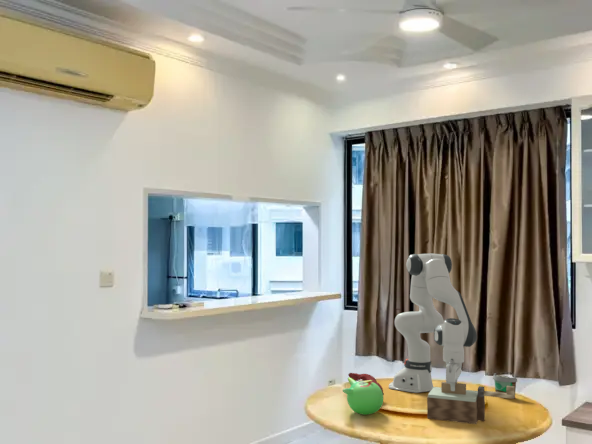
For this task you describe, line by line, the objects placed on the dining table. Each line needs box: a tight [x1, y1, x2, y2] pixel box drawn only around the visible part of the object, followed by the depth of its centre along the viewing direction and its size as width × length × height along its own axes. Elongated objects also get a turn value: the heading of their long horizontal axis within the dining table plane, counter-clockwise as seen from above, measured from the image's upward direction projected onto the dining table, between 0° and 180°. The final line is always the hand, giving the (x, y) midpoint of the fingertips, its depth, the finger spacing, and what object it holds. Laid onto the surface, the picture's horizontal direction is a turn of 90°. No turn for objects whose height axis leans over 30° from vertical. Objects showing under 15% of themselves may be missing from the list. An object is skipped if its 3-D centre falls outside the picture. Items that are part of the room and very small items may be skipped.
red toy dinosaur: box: [348, 372, 385, 396], centre depth 292 cm, size 28×9×15 cm
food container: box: [492, 372, 518, 398], centre depth 289 cm, size 12×6×10 cm, turn 37°
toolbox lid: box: [427, 381, 478, 402], centre depth 257 cm, size 19×14×6 cm
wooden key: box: [483, 386, 516, 400], centre depth 250 cm, size 13×2×4 cm, turn 67°
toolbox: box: [426, 385, 486, 425], centre depth 257 cm, size 22×14×13 cm, turn 67°
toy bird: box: [342, 376, 384, 416], centre depth 262 cm, size 18×17×15 cm
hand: (453, 389), depth 257 cm, fingers closed on toolbox lid, 2 cm apart
